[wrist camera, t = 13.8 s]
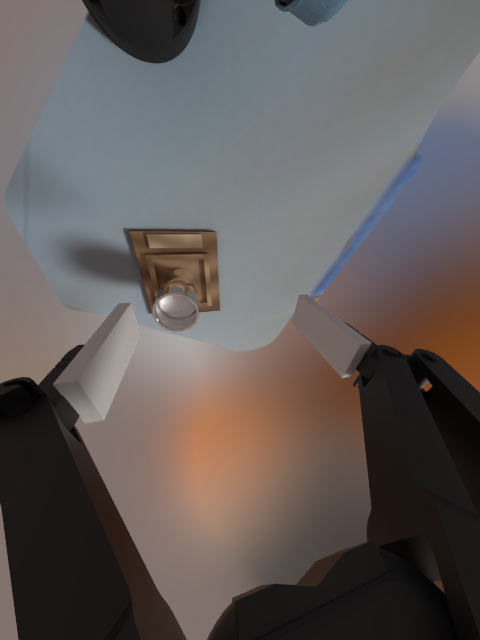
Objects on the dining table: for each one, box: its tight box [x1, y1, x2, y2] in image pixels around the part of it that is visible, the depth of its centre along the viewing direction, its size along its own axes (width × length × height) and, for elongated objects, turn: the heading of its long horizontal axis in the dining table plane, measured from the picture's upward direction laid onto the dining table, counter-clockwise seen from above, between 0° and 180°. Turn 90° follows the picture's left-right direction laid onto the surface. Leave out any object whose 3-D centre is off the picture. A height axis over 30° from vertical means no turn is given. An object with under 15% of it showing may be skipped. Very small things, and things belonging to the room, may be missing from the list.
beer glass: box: [153, 268, 200, 331], centre depth 32 cm, size 7×7×15 cm
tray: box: [129, 231, 220, 315], centre depth 37 cm, size 18×16×2 cm
